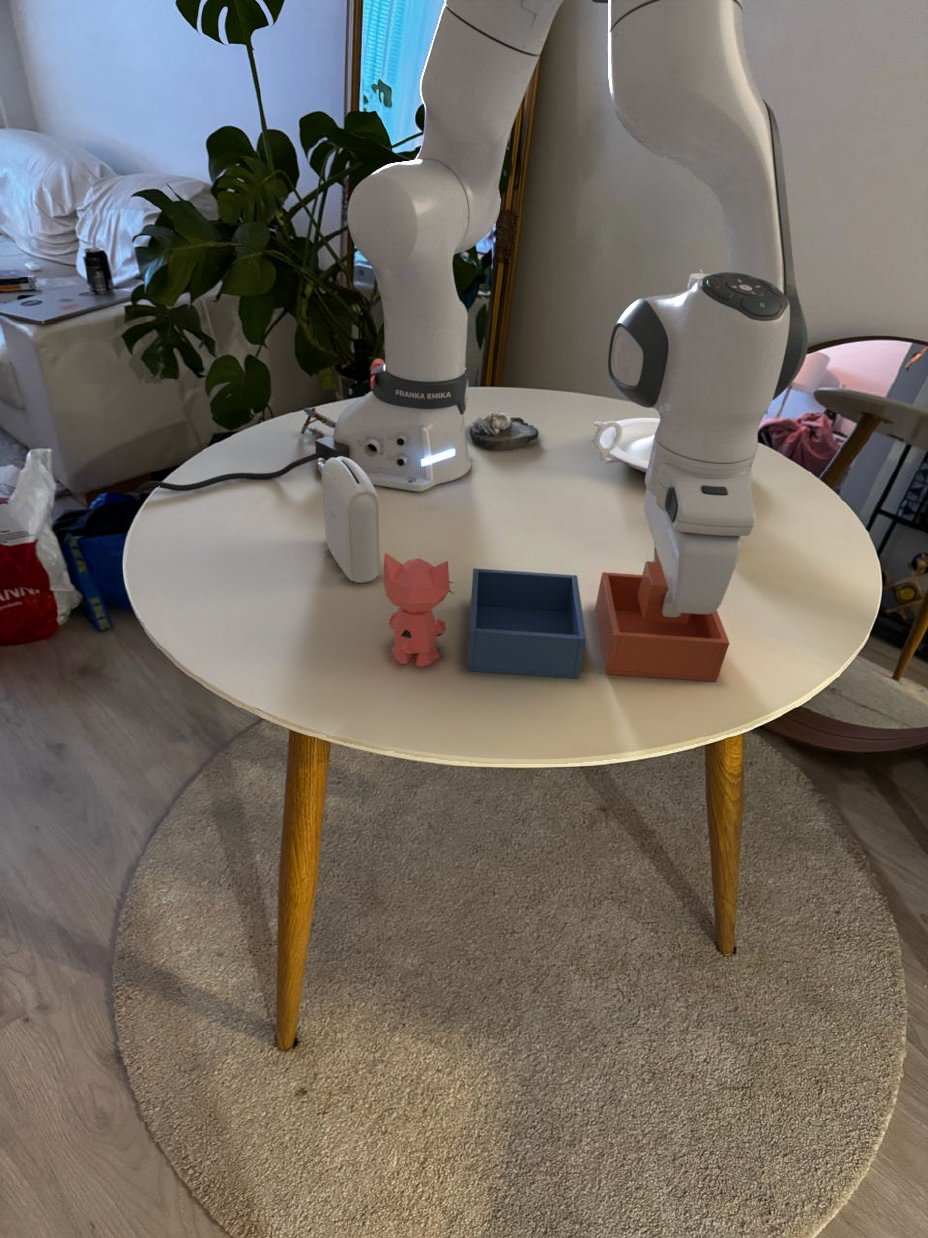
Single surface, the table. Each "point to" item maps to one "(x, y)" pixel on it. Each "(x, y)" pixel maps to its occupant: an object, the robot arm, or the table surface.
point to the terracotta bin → (655, 637)
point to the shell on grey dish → (502, 432)
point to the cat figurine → (415, 607)
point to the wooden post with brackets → (319, 417)
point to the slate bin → (525, 624)
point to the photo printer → (351, 519)
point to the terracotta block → (655, 595)
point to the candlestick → (630, 431)
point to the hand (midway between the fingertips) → (664, 596)
